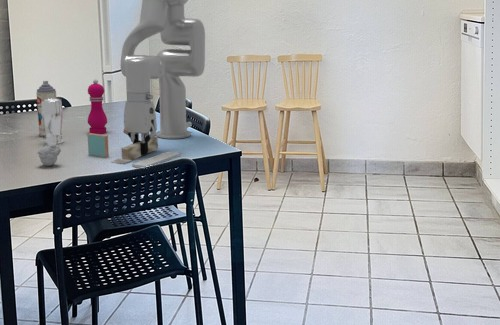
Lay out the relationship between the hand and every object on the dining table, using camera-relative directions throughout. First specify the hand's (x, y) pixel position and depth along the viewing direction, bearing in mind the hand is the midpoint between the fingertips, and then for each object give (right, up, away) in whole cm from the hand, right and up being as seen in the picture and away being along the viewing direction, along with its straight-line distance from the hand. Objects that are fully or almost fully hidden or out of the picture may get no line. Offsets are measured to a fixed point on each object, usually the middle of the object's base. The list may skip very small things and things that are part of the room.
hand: (140, 153), depth 213 cm
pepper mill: (-22, +8, +35) cm, 42 cm away
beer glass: (-33, +4, +18) cm, 38 cm away
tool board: (+6, -2, -7) cm, 10 cm away
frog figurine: (-25, -4, -13) cm, 29 cm away
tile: (-13, -1, -1) cm, 13 cm away
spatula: (-1, -1, -2) cm, 2 cm away
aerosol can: (-39, +7, +29) cm, 49 cm away
